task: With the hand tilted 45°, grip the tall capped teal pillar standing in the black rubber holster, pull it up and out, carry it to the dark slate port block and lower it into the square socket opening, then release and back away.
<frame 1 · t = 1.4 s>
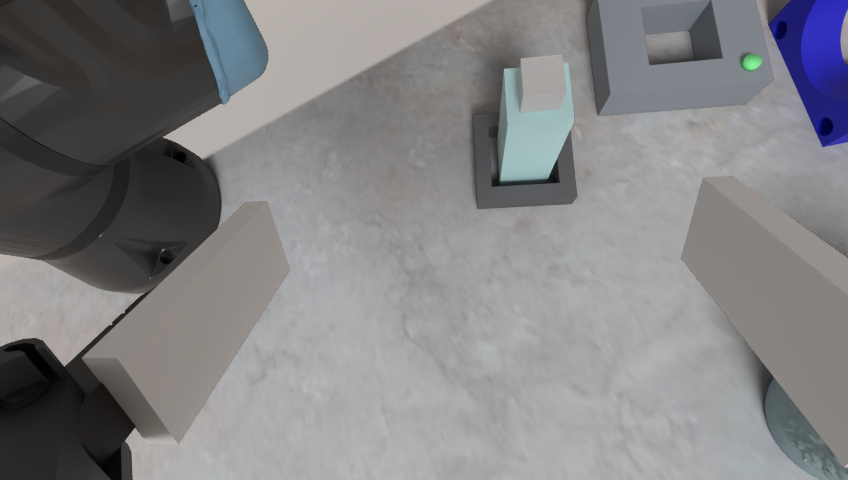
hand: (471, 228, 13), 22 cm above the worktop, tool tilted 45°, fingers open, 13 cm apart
cable clip: (818, 79, 35), on the worktop
capped teal pillar: (529, 128, 30), in the holster
port block: (661, 59, 36), on the worktop
holster: (520, 163, 36), on the worktop
grey-green tumbler cup: (824, 418, 29), on the worktop
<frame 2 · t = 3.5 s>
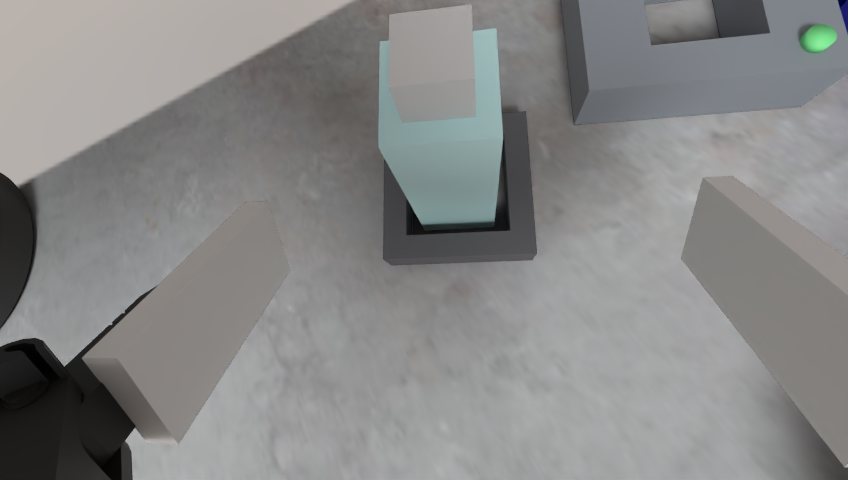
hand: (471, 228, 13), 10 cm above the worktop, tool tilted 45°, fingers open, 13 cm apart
capped teal pillar: (449, 147, 18), in the holster
port block: (670, 40, 24), on the worktop
holster: (457, 196, 24), on the worktop
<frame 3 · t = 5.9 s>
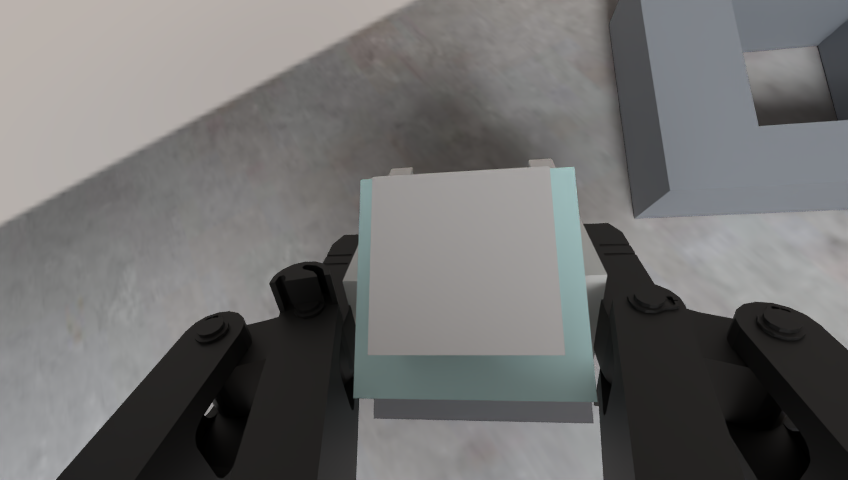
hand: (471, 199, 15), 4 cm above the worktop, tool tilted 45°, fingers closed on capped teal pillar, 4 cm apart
capped teal pillar: (473, 300, 11), in the holster, touching gripper
port block: (763, 104, 18), on the worktop
holster: (476, 313, 18), on the worktop
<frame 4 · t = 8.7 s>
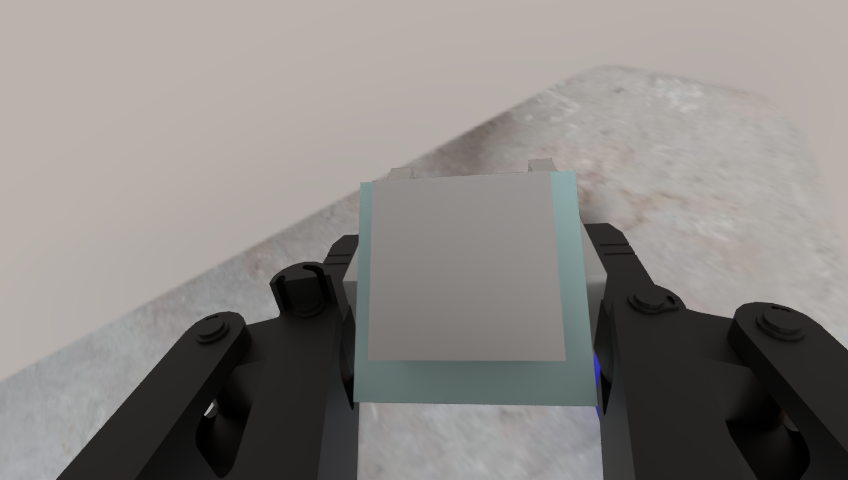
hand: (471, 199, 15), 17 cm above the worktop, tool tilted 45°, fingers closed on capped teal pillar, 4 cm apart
capped teal pillar: (473, 303, 11), point 19 cm above the worktop, touching gripper
when the fingers open (6 cm above the worktop, at t = 11.5 s): capped teal pillar drops 1 cm, resting in port block.
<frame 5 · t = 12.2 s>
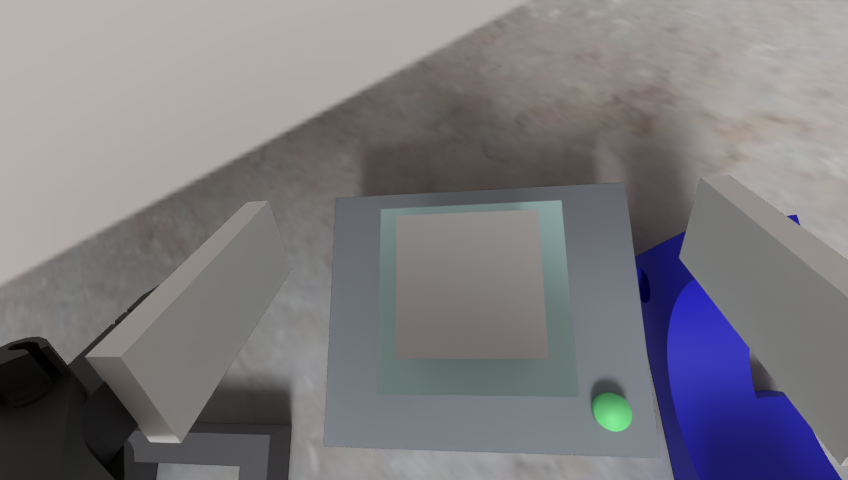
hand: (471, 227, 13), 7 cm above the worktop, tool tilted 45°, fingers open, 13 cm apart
cable clip: (710, 393, 17), on the worktop, touching gripper
capped teal pillar: (475, 309, 13), in the port block
port block: (478, 316, 19), on the worktop
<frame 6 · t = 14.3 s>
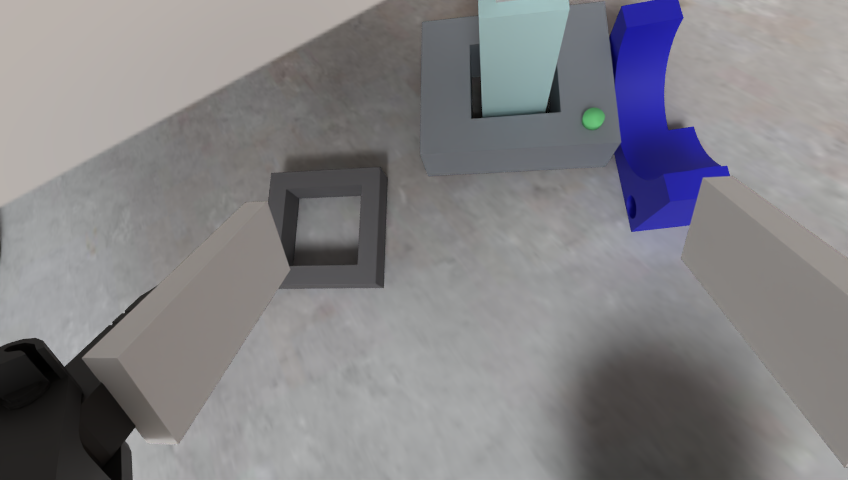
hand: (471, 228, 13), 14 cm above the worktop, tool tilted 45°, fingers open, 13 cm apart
cable clip: (646, 144, 27), on the worktop
capped teal pillar: (515, 45, 23), in the port block
port block: (510, 107, 29), on the worktop
holster: (331, 232, 29), on the worktop
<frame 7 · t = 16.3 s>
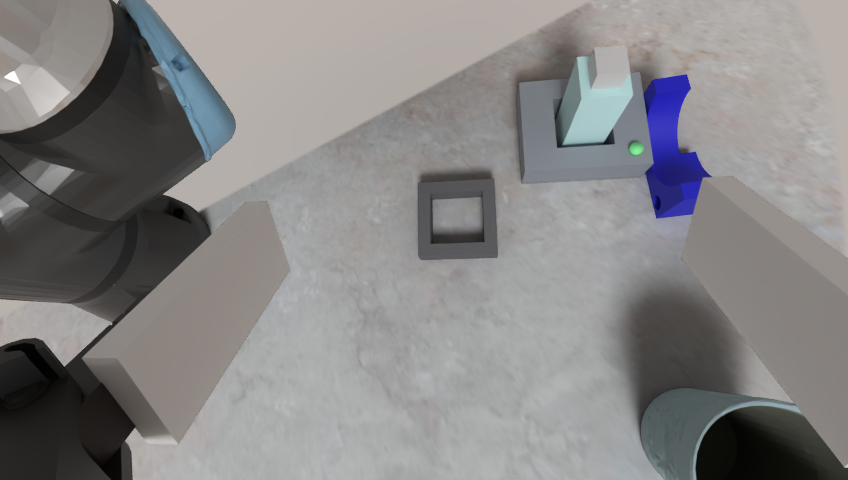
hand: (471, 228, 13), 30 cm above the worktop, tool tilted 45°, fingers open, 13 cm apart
cable clip: (664, 162, 42), on the worktop
capped teal pillar: (590, 105, 38), in the port block
port block: (575, 137, 44), on the worktop
holster: (457, 222, 44), on the worktop
grey-green tumbler cup: (686, 438, 36), on the worktop
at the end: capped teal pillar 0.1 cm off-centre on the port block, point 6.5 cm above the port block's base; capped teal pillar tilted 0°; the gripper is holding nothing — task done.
